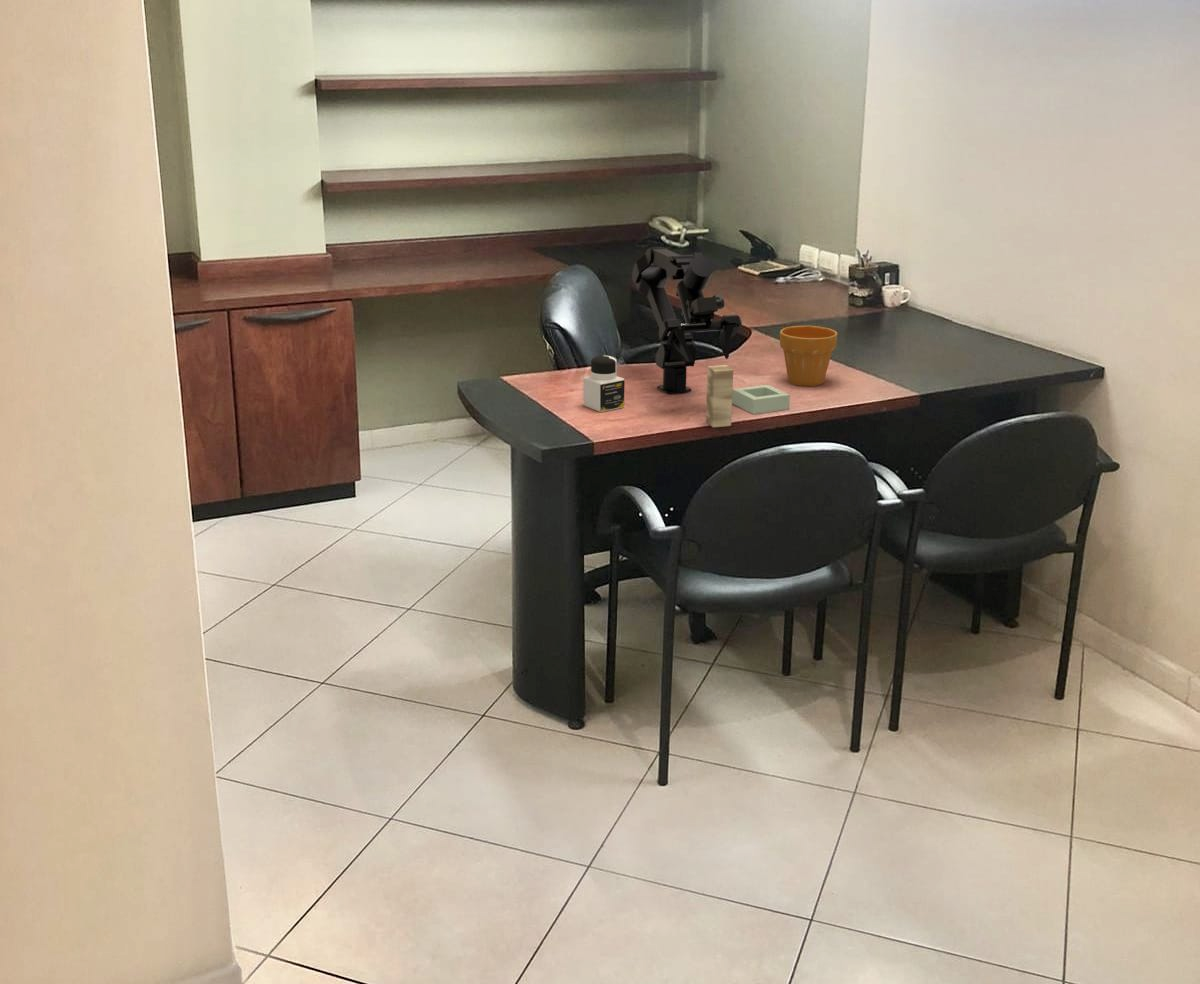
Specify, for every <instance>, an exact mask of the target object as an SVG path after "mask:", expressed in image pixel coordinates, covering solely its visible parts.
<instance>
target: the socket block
mask: <svg viewBox="0 0 1200 984" xmlns="http://www.w3.org/2000/svg"><path fill="white" fill-rule="evenodd" d="M790 401H791V394H789V393H786V392H785V391H782V390H780V389H778V388H776V387H773V386H771V385H769V384H763V385H755V386H747V387H739V388H733V391H732V405H735V406H737V407H738V408H740V409H742V410H744V411H746V412H748V413H750V414H752V415H759V414H765V413H771V412H772V413H773V412H778V411H787V410H790Z"/></svg>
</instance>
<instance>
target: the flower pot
mask: <svg viewBox="0 0 1200 984" xmlns="http://www.w3.org/2000/svg"><path fill="white" fill-rule="evenodd" d="M837 343H838V332H837V331H836V330H834V329H832V328H828V327H823V326H819V325H818V326H815V325H792V326H786V327H783V328H782V329H781V330H780V331H779V347H780V348H781V349H782V350H783V355H784V363H785V368H786V374H787V379H788V382H789V383H790V384H792V385H795V386H800V387H816V386H817V387H818V386H820V385H822V384H824V381H825V379H826V376H827V375H826V374H827V371H828V369H829V364H830V360H831V357H832V353H833V351H835V350H836V348H837Z"/></svg>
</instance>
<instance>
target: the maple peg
mask: <svg viewBox="0 0 1200 984" xmlns="http://www.w3.org/2000/svg"><path fill="white" fill-rule="evenodd" d="M706 370H707V375H706V379H707V380H706V400H705V401H706V405H705V423H706V424H708V425H709V426H711V427H712V428H720V427H721V428H722V427H731V426H732V413H733V411H732V409H733V404H732V391H733V389H734V388H733V387H734V384H733V383H734V369H732V368H731V367H729V366H728V365H726V364H722V365H709V366H707V369H706Z"/></svg>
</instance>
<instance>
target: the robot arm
mask: <svg viewBox="0 0 1200 984" xmlns="http://www.w3.org/2000/svg"><path fill="white" fill-rule="evenodd" d="M714 271H715V264H714V263H713V262H712V261H711V260H710V258H707V257H705V256H704V255H703V253H702V252H694V253H693V254H685V255H682V254H678V253H676V252H674V251H672V250H669V249H668V247H665V246H661V247H658V246H657V247H650V248H647V249H646V251H645V254H644V255H642V256H641V257H640V258H639V259H637V260H636V261H635V264H634V266H633V269H632V272H631V279H632V282H633V283H634V285H635V287H636V290H637V291H638V292H639V293H640V294H641V295H644V296H645V297H646V298H647V300H648V302H649V304H650V307H651V310H652V312H653V315H654V316H653V317H654V318H655V321H656V324H657V326H658V329H659V330H658V337H659V341H660V344H659V347H658V349H657V352H656V354H655V356H654V358H655V365H656V366H657V367H658V368H660V369H661V370H662V385H661V384H660V385H657V389H659V390H661V391H662V392H665V393H666V394H669V395H670V394H677V393H678V394H679V393H684V392H685V393H686V392H692V388H690V387H688V386H687V367H694V366H695V364H696V358H697V357H696V356H697V352H698V348H697V344H696V342H695V341H694V337H693V336H692V333H701V332H715V331H716V332H717V335H718V336H719V338H718V341H719V344H720V348H721V350H722V353H723V355H724V356H723V357H724V358H725V359H726V360H728V359H729V357H730V347H731V340H732V338H734V337H735V336H736V335H737V333H738V332H739V330H740V328H741V326H742V324H743V321H742V318H741V317H740V316H739V315H738V314H728V315H727V314H726V315H725V314H724V315H722V317H721V319H720V321H712V319H714V318H715V312H718V311H719V310H722V309H724V307H725V299H724V296H723V294H722V293H716V294H714V295H713V296H706V297H705V294H704V291H703V290H704V289H706V288H707V285H708V284H709V282H710V280H711V277H712V275H713V273H714ZM668 278H669V279H670V280H671V281H679V282H678V283H677V285H676V291H675V297H678V298H679V302H680V306H681V309H682V310H681V313H680V314H681V317H684V318H683V319H684V320H685V323H682V320H681V318H679V317H678V318H677V316H676V314H675V312H674V309H673V306H672V303H671V301H670V298H669V295H668V293H667V290H666V288H665V287H666V284H667V280H668Z"/></svg>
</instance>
